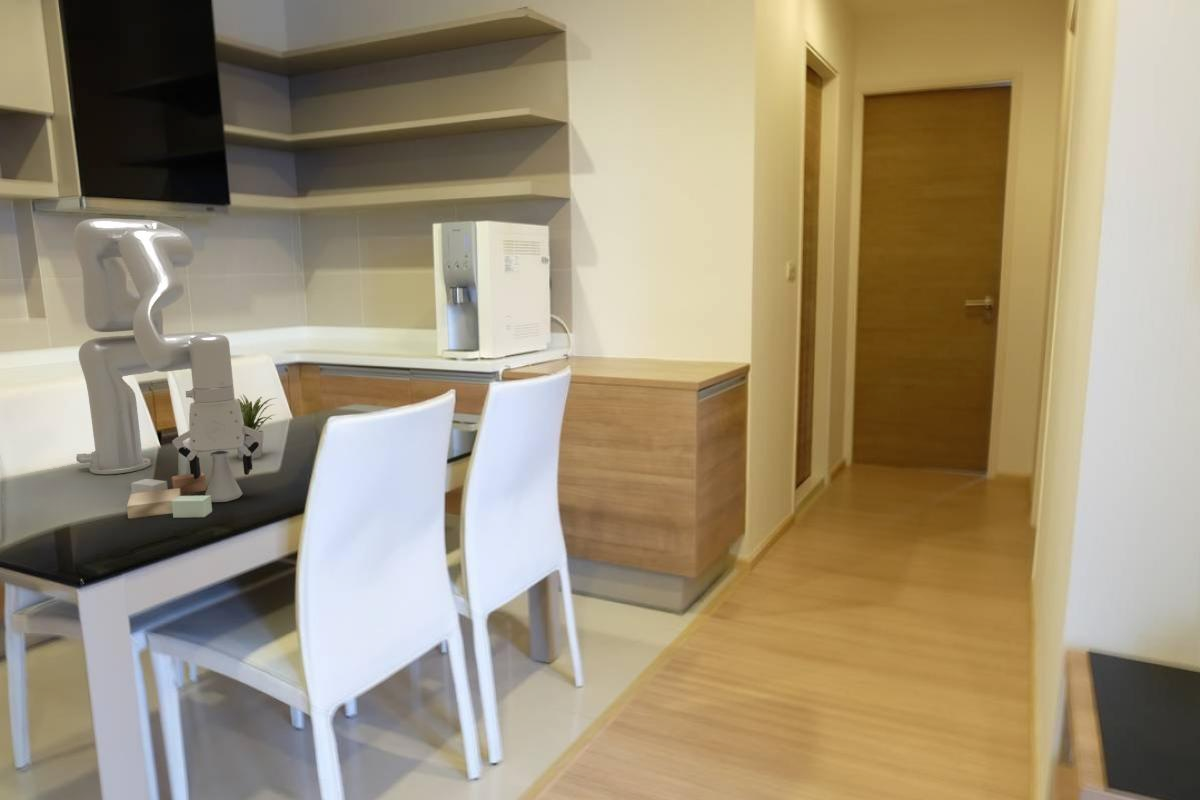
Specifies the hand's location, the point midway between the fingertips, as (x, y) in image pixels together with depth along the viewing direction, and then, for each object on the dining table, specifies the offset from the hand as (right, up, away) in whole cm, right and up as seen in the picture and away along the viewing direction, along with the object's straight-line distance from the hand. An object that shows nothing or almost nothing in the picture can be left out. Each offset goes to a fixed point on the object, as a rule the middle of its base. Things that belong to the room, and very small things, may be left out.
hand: (222, 475), depth 168 cm
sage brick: (-1, -7, -9) cm, 12 cm away
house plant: (-8, +1, +35) cm, 36 cm away
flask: (0, -5, +1) cm, 5 cm away
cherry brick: (-10, -4, +7) cm, 13 cm away
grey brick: (-16, -5, +2) cm, 17 cm away
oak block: (-11, -7, -6) cm, 14 cm away
